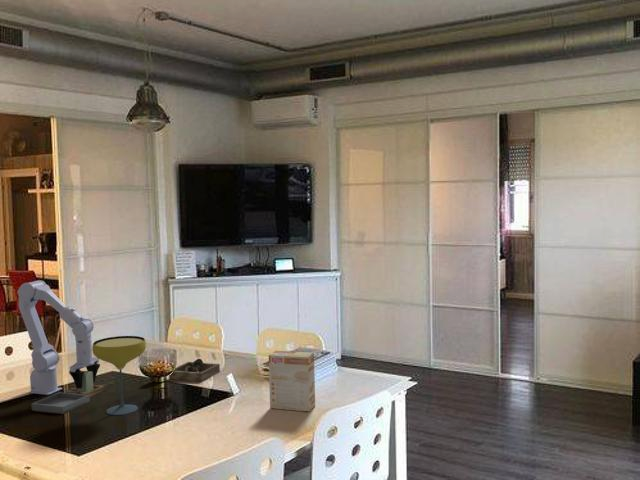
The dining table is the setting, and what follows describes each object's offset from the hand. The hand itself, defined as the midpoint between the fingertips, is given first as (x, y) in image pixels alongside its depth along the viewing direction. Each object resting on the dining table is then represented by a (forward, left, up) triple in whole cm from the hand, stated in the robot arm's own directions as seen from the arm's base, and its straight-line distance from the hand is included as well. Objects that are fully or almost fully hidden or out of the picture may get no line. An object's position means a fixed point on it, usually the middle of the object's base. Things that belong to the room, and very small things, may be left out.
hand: (85, 385), depth 248 cm
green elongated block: (0, 0, -3) cm, 3 cm away
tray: (+2, -16, -3) cm, 16 cm away
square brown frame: (0, 0, -3) cm, 3 cm away
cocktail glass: (+27, -14, -3) cm, 31 cm away
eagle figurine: (+29, +33, -3) cm, 44 cm away
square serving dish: (+30, +32, -3) cm, 44 cm away
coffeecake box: (+85, +5, -3) cm, 85 cm away
